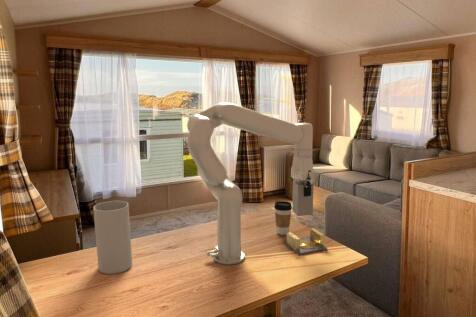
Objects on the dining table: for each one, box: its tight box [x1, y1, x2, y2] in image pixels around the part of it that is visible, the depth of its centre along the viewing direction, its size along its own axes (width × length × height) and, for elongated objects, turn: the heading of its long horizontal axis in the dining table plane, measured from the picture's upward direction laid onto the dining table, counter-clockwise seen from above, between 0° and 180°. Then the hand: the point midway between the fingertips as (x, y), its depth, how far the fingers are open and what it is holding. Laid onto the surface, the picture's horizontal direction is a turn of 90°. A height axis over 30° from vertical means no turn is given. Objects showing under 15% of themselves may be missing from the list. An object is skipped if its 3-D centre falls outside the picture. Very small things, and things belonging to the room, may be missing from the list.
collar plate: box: [283, 227, 328, 256], centre depth 156 cm, size 14×13×6 cm
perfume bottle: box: [291, 178, 314, 217], centre depth 152 cm, size 7×7×18 cm
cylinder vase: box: [92, 200, 133, 275], centre depth 137 cm, size 12×12×25 cm
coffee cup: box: [274, 200, 292, 236], centre depth 171 cm, size 8×8×15 cm
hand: (302, 193), depth 152 cm, fingers closed on perfume bottle, 6 cm apart
